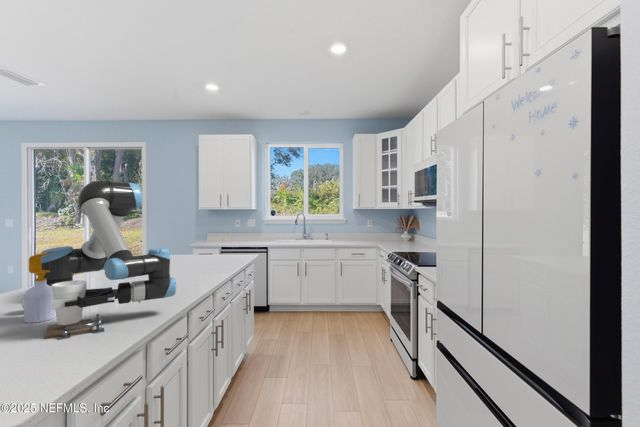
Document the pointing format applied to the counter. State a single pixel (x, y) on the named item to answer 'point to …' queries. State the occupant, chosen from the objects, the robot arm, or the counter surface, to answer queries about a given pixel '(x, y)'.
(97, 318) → the rail
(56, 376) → the counter surface
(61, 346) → the counter surface
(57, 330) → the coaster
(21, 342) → the counter surface
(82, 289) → the foam cup
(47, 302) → the soap bottle
